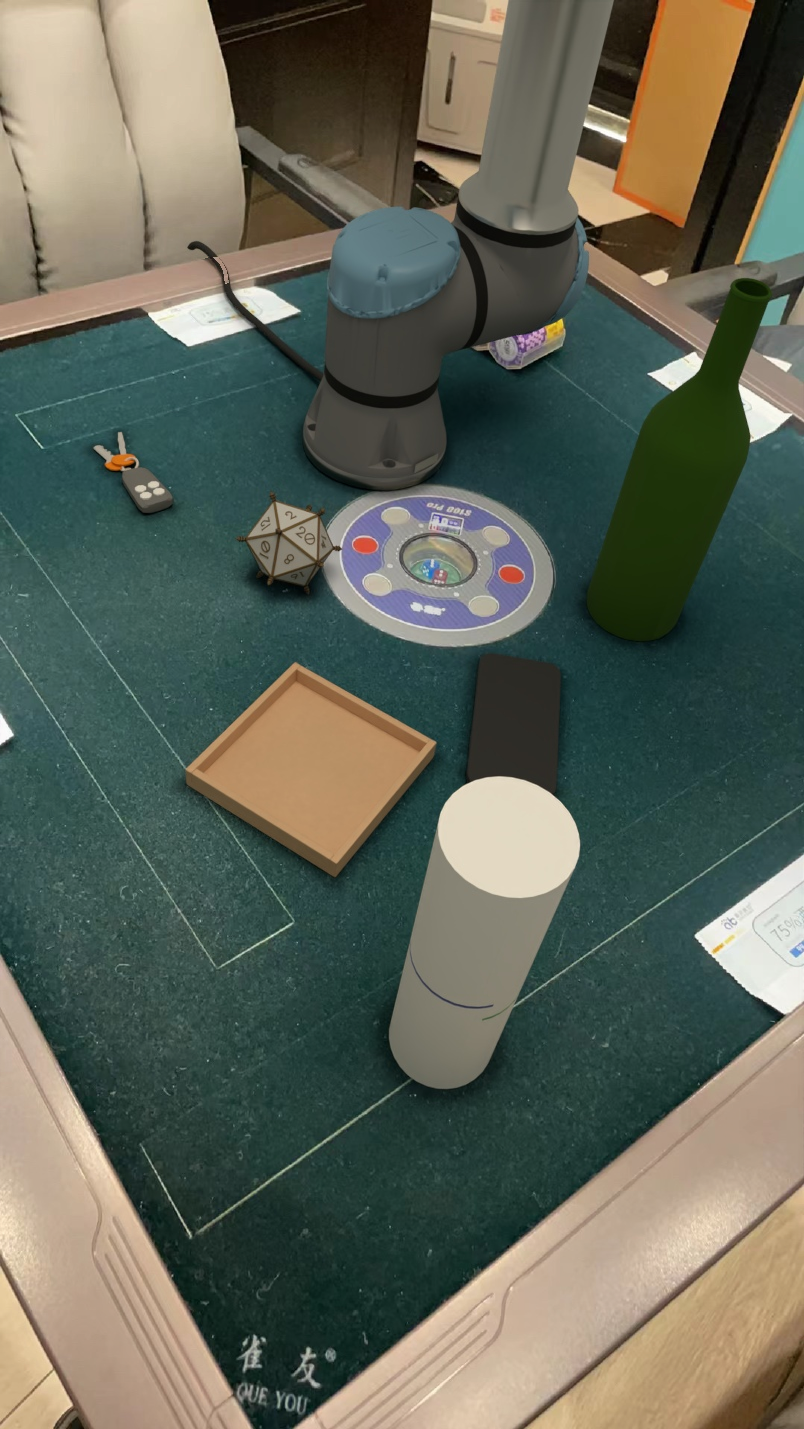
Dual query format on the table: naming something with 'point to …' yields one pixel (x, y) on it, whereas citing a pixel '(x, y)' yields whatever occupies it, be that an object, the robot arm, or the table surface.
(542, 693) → the phone
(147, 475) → the key chain
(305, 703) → the tray
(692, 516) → the wine bottle
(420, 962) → the cylindrical container
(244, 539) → the game die
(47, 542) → the table surface
